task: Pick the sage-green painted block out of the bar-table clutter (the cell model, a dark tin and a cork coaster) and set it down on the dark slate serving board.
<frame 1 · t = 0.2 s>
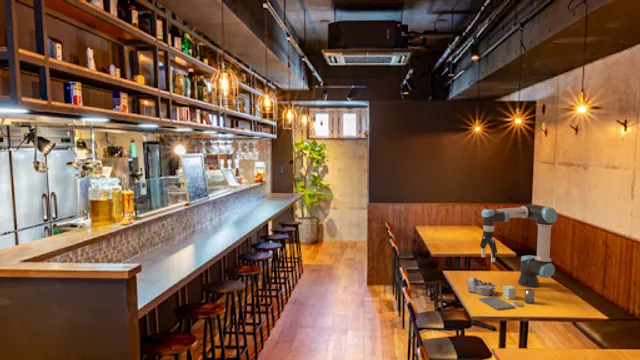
hand: (488, 259, 304), 28 cm above the table, fingers open, 13 cm apart
slate board: (496, 304, 291), on the table
sage block: (509, 297, 303), on the table
dark tin: (529, 302, 293), on the table
cork coaster: (517, 305, 289), on the table
cell model: (480, 293, 314), on the table
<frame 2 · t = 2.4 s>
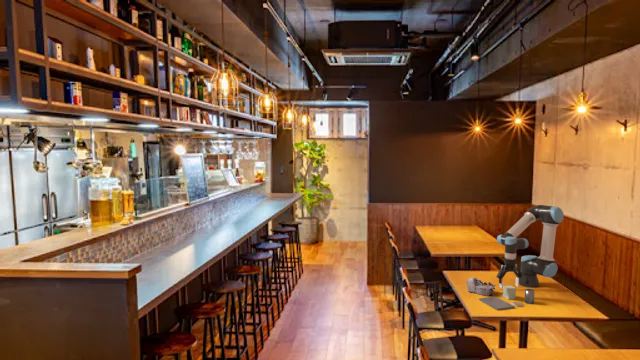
hand: (509, 287, 302), 8 cm above the table, fingers open, 13 cm apart
nothing on the table moved.
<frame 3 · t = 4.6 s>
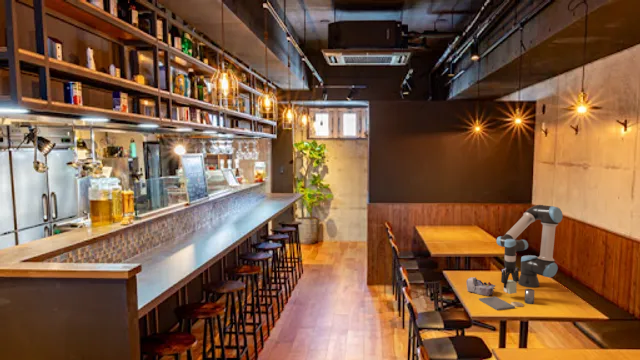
hand: (510, 291, 303), 5 cm above the table, fingers closed on sage block, 6 cm apart
sage block: (510, 291, 303), point 4 cm above the table, touching gripper
everything else where it was.
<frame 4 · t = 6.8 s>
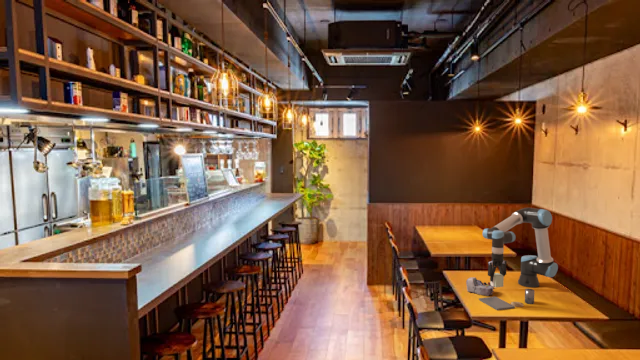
hand: (496, 285, 290), 13 cm above the table, fingers closed on sage block, 6 cm apart
sage block: (496, 285, 290), point 13 cm above the table, touching gripper
everything else where it was.
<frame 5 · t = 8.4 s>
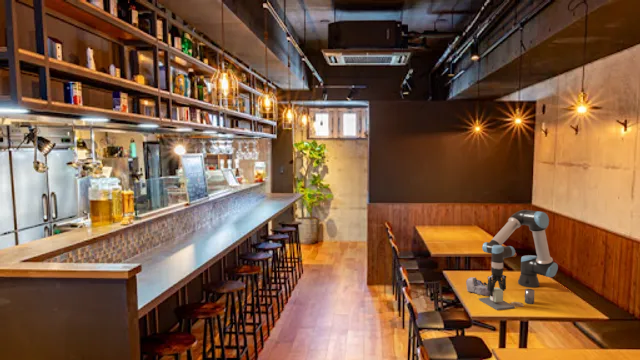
hand: (496, 299, 291), 3 cm above the table, fingers closed on sage block, 6 cm apart
sage block: (496, 300, 291), point 3 cm above the table, touching gripper
everything else where it was.
when the fingers open (2 cm above the table, at t = 9.1 s): sage block stays where it is, resting on slate board.
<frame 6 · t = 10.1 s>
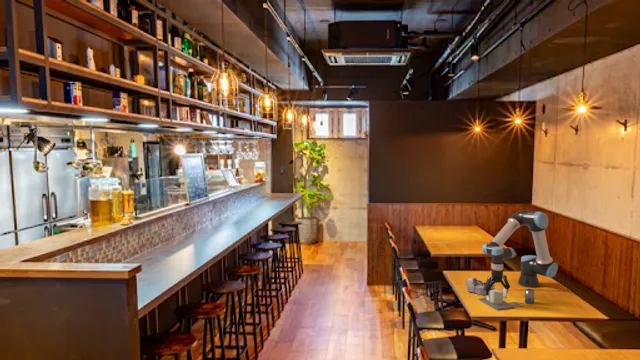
hand: (496, 298, 291), 4 cm above the table, fingers open, 13 cm apart
sage block: (496, 302, 291), point 1 cm above the table, touching slate board
everything else where it was.
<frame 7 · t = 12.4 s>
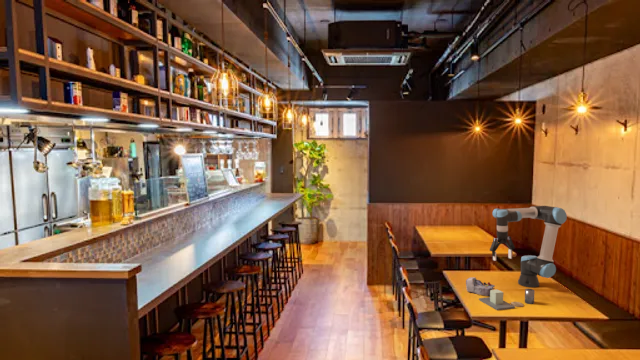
hand: (502, 259, 305), 27 cm above the table, fingers open, 13 cm apart
nothing on the table moved.
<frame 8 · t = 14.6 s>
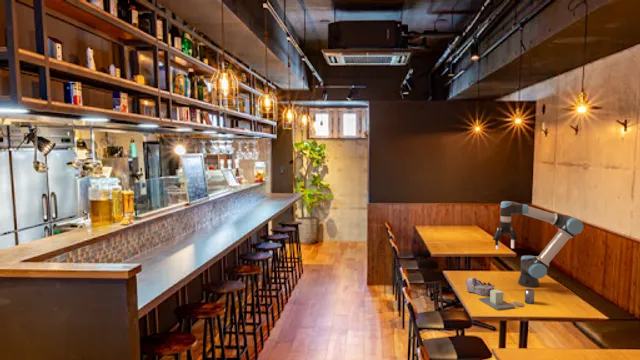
hand: (504, 248, 319), 32 cm above the table, fingers open, 13 cm apart
nothing on the table moved.
at the end: sage block inside the target area on the slate board (0.0 cm from its centre), point 1.2 cm above the slate board's base; sage block tilted 0°; the gripper is holding nothing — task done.
